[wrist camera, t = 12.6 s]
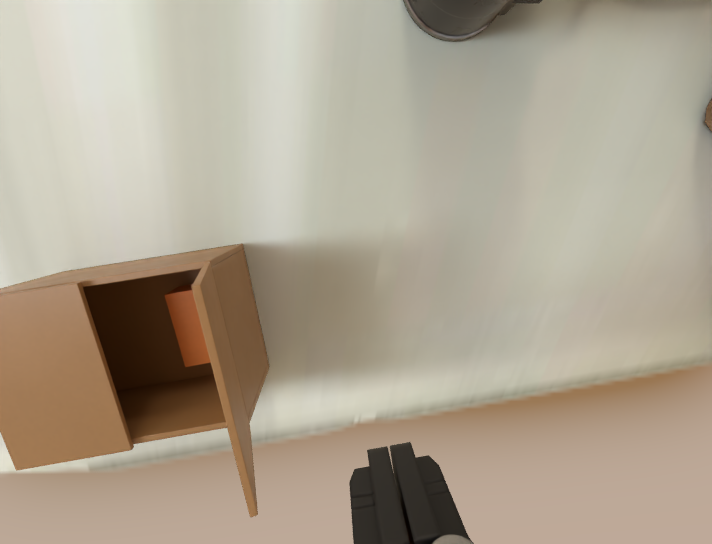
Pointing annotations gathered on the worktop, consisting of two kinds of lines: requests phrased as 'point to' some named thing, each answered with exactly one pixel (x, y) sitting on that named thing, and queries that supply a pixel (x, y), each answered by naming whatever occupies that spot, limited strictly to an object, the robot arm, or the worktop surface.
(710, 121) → the wooden block
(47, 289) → the open shipping carton
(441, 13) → the robot arm
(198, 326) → the block
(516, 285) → the worktop surface
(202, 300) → the cardboard box flap
